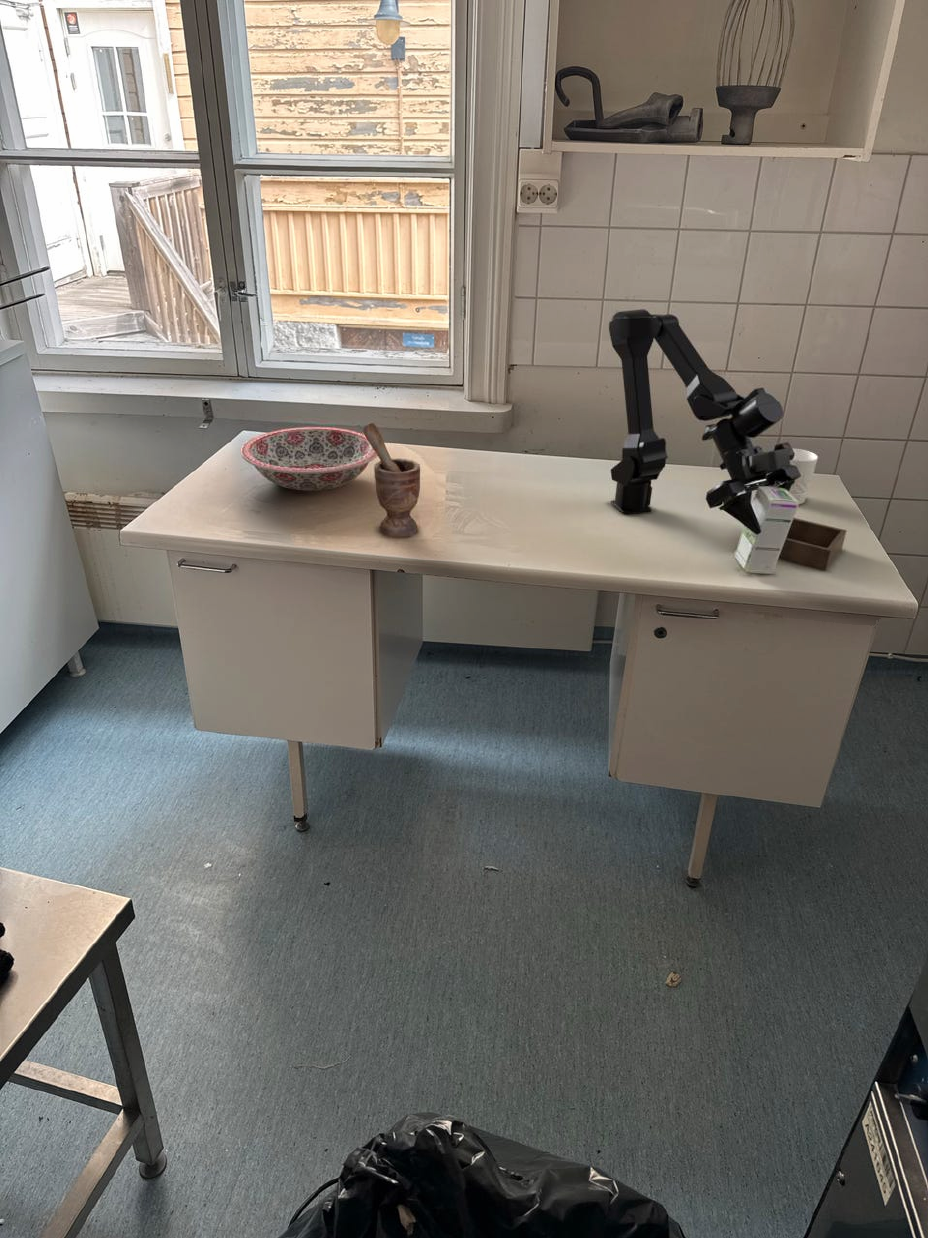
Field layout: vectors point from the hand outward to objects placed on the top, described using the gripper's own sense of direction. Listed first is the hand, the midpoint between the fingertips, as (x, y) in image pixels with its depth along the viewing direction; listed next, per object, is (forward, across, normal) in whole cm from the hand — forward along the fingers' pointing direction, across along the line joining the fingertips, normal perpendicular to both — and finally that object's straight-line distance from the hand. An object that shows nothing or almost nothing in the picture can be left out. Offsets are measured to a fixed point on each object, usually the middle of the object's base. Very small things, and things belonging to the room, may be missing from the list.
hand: (773, 529), depth 159 cm
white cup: (-9, +34, +22) cm, 41 cm away
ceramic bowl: (-50, -51, +63) cm, 95 cm away
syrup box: (+4, -1, +8) cm, 9 cm away
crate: (+3, +13, +9) cm, 16 cm away
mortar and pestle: (-29, -49, +42) cm, 71 cm away
